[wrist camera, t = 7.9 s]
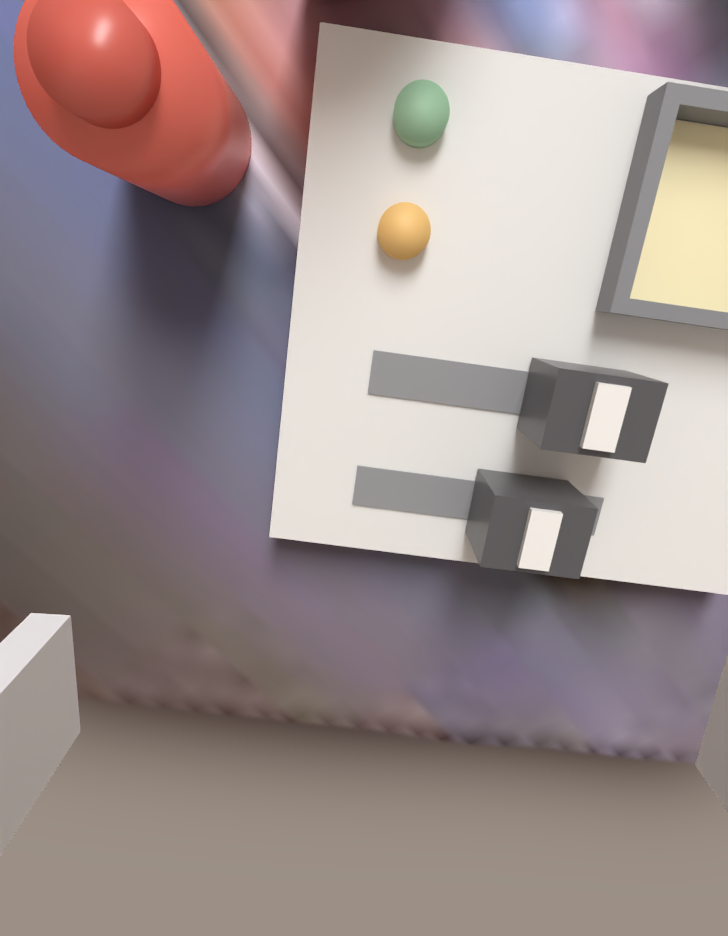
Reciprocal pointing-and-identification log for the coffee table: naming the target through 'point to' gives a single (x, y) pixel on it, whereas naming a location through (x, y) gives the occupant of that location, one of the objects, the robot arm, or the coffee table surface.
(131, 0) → the cap
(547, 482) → the breaker
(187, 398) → the coffee table surface
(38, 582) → the coffee table surface
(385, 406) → the panel
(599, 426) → the breaker
